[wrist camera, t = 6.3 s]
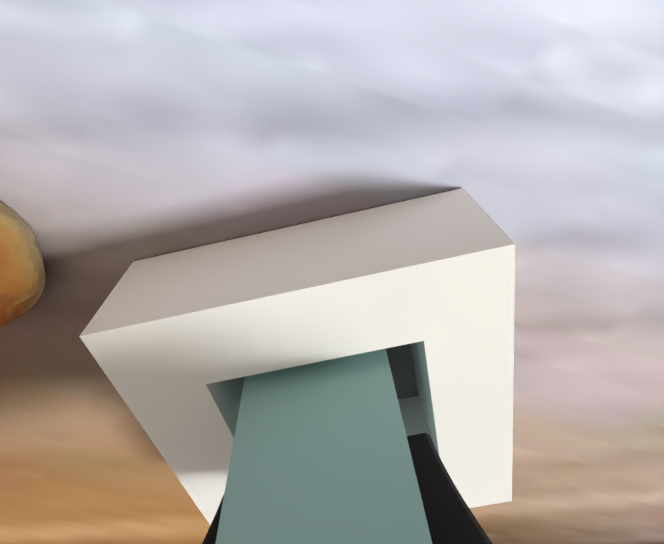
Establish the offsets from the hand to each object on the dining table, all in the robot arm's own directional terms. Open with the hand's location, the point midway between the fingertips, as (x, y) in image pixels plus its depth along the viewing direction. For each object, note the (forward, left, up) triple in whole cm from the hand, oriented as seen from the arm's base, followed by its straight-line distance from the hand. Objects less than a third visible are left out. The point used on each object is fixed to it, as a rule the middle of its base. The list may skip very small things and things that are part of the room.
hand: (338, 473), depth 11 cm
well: (0, 0, -5) cm, 5 cm away
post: (+1, 0, -4) cm, 4 cm away
